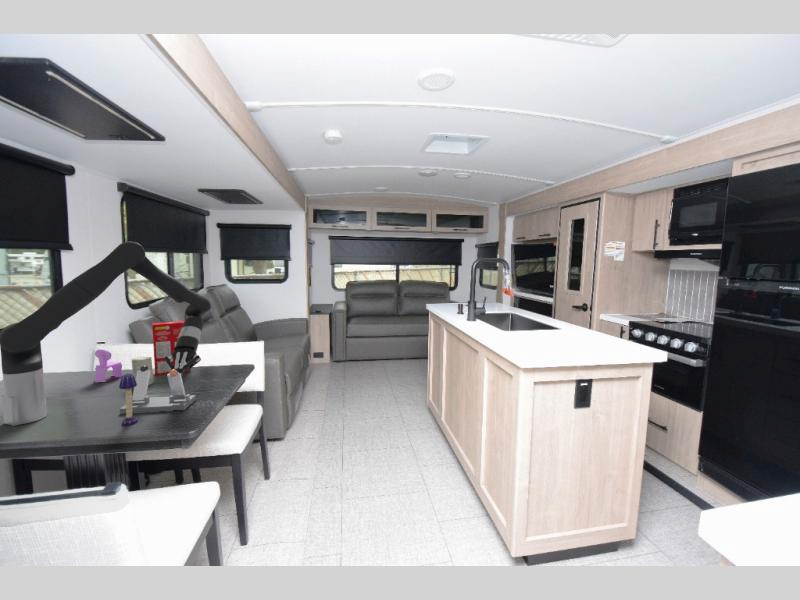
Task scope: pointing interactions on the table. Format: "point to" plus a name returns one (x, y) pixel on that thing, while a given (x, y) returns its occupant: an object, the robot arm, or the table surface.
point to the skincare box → (140, 362)
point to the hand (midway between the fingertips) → (176, 379)
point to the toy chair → (106, 366)
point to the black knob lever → (141, 384)
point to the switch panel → (159, 404)
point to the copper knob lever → (176, 385)
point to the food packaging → (165, 344)
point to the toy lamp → (128, 397)
